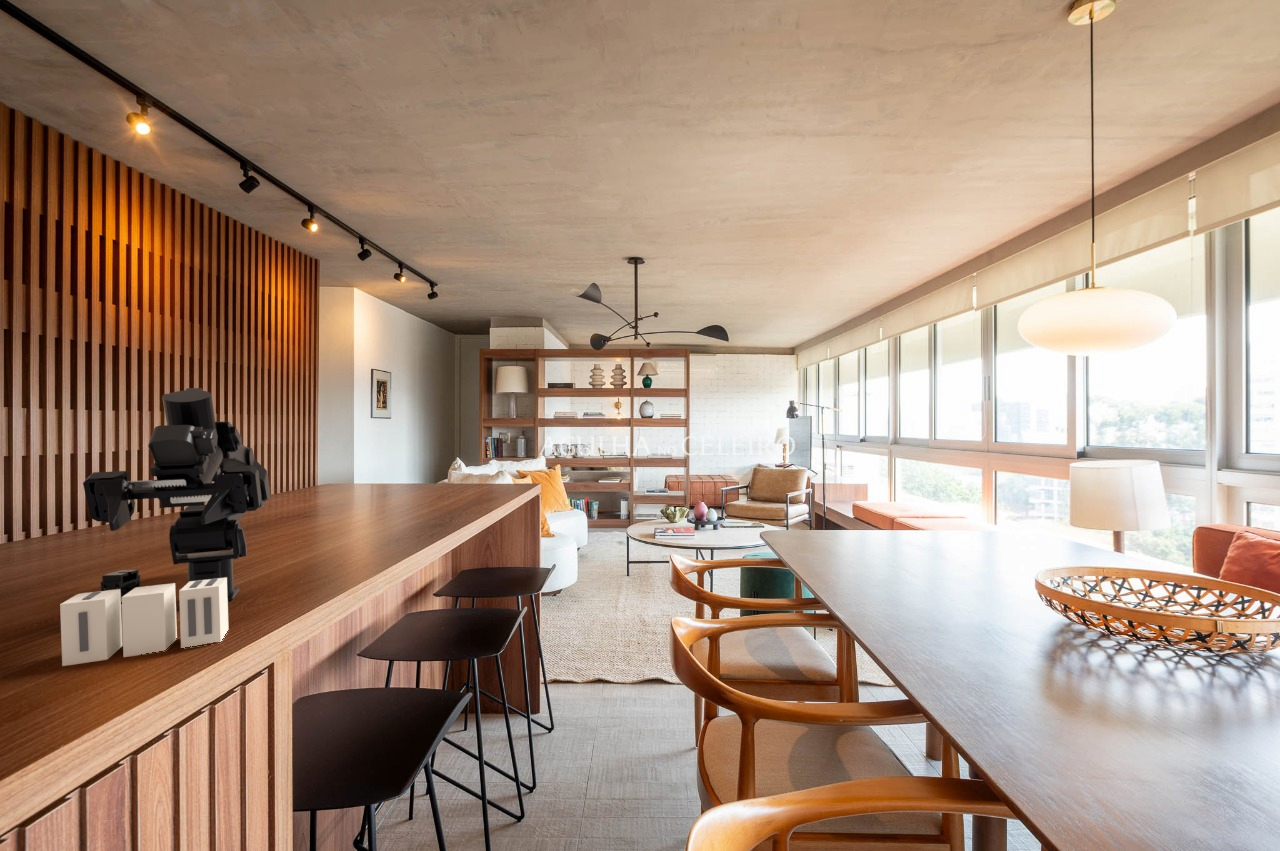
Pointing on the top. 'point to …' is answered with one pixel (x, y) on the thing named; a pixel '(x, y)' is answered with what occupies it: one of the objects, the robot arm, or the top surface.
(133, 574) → the black angular block
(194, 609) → the marked block two
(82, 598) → the marked block one
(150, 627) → the plain block
